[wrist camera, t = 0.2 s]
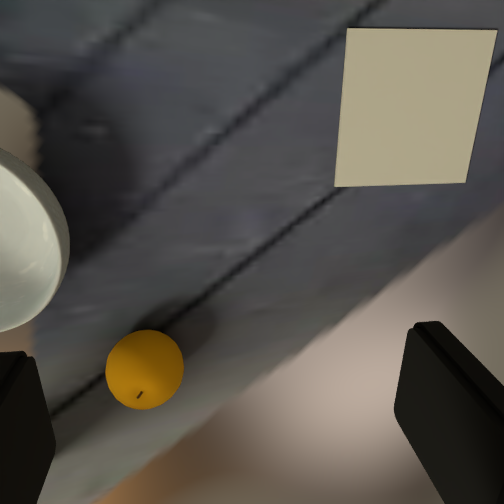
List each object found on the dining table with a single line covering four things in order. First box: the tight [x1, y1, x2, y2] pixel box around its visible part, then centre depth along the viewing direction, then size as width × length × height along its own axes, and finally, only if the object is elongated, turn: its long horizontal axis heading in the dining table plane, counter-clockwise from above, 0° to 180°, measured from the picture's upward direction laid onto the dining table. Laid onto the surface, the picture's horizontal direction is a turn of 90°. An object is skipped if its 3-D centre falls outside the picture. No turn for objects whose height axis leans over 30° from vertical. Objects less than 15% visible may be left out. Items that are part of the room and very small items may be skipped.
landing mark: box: [334, 28, 497, 187], centre depth 39 cm, size 14×14×1 cm
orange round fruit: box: [105, 330, 184, 410], centre depth 43 cm, size 8×8×8 cm
